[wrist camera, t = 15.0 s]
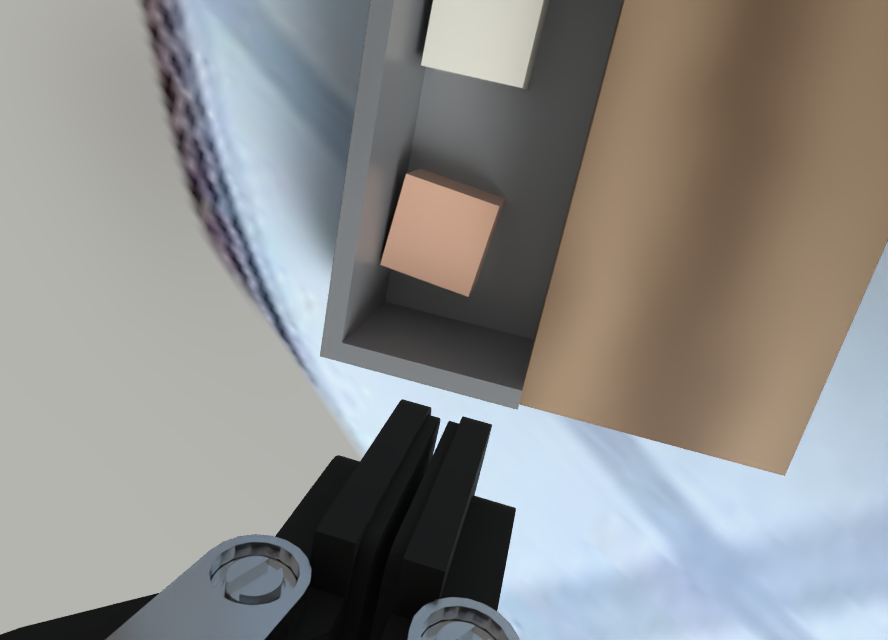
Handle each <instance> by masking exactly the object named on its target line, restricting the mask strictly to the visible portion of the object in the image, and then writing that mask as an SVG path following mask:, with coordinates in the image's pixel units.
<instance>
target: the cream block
mask: <svg viewBox="0 0 888 640" xmlns="http://www.w3.org/2000/svg"><path fill="white" fill-rule="evenodd" d="M549 1H550V0H433V4H432V9H431V14H430V20H429V25H428V30H427V36H426V41H425V46H424V52H423V57H422V62H421V65H422V66H425V67H429V68H432V69H435V70H440V71H444V72H449V73H453V74H458V75H462V76H466V77H471V78H475V79H480V80H484V81H489V82H493V83H498V84H502V85H506V86H511V87H515V88H520V89H524V90H528V88H529V84H530V79H531V75H532V71H533V67H534V63H535V59H536V55H537V51H538V47H539V42H540V38H541V34H542V30H543V26H544V22H545V18H546V14H547V10H548V5H549Z"/></svg>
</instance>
